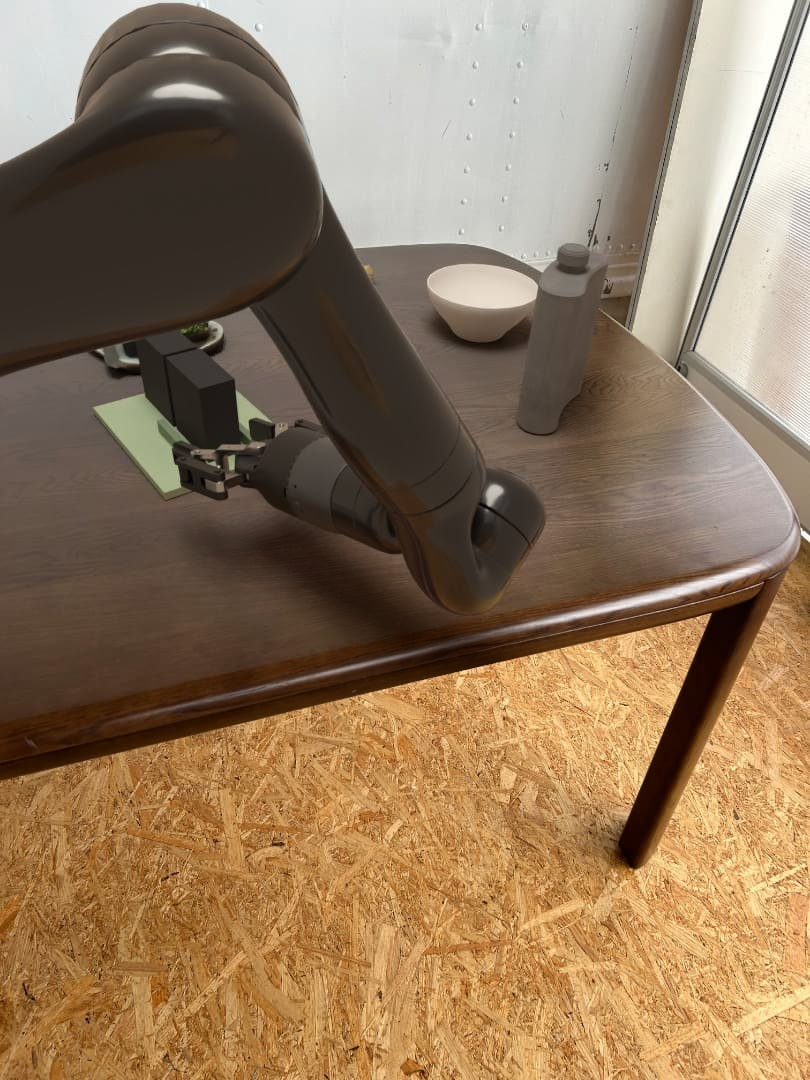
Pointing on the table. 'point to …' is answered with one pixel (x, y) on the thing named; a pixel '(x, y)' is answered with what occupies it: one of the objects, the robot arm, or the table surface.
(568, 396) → the flask
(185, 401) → the tall dark upright box
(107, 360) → the salad plate
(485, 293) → the bowl
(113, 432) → the dock mat
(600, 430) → the table surface
